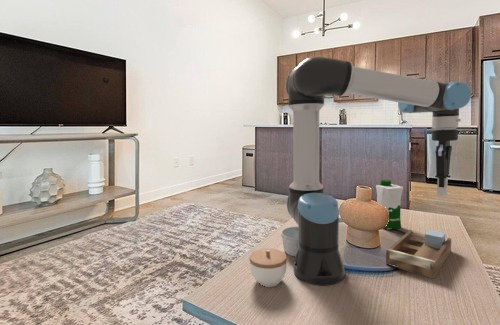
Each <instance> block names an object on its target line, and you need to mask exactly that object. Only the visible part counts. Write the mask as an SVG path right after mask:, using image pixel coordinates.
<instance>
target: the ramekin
mask: <svg viewBox="0 0 500 325" xmlns="http://www.w3.org/2000/svg"><path fill="white" fill-rule="evenodd" d="M280 234H281V235H280V236H281V240H282V248H283V250H284V252H285V254H286V255H287V254H288V255H289V256H292V257H296V254H297V251H298V248H299V226H289V227H286V228H284V229H282V230H281V232H280Z"/></svg>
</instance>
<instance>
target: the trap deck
mask: <svg viewBox="0 0 500 325" xmlns="http://www.w3.org/2000/svg"><path fill="white" fill-rule="evenodd" d="M385 251H386V254H385V255H386V256H385V261H386V262H385V264H386V263H387V264H391V265H395V266H398V268H397V269H399V270H403V271H406V272H409V273H413V274H416V275H419V276H422V277H427V278H430V279H435V277H436V276H437V275H438V273H439V271H440V270H441V268H442V266H443V265H444V263H445V261H446V260H447V259H448V257H449V255H450V253H451V251H452V238H450V237H447V239H445V243H444V244H443V246H442V247H441V248H440V249H439V248H434V247H430V246H426V245H425V237H419V236H414V235H413V230H410V229H409V230H408V231H407V232H405V234H403V235H402V236H401V237H400V238H399V239H398V240H397V241H396V242H395V243H394V244H392V245H391V246H390V247H389V248H386V250H385Z"/></svg>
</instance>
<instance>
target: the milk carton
mask: <svg viewBox="0 0 500 325" xmlns="http://www.w3.org/2000/svg"><path fill="white" fill-rule="evenodd" d="M375 188H376V189H375V190H376V195H377V196H376V201H377V202H378V203H380V204H381V205H383V206H384V207H386V209H387V211H388V213H389V222H388V224H387V226H386V227H385V228H392V229H391V230H398V229H402V223H401V222H402V221H401V210H402V209H401V206H402V205H401V203H402V199H401V198H402V195H403V190H404V186H400V185H398V184H393V183H392V180H390V179H381V180H380V184H376V185H375ZM377 202H376V203H377Z"/></svg>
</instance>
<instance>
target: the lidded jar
mask: <svg viewBox="0 0 500 325" xmlns="http://www.w3.org/2000/svg"><path fill="white" fill-rule="evenodd" d="M287 259H288V256H287V253H286V252H285V251H282V250H280V249H276V248H260V249H257V250H255V251H252V252H251V253H250V254H249V264H250V265H249V266H250V272H251V275H252V277H253V279H254V280H255V281H256V282H257V283H258V284H259V283H260V284H261V285H260V284H259V285H260V286H262V285H263V286H262V287H264V286H265V287H266V288H273V287H276V286H278V284H280V282H281V281H283V279H284V278H285V275H286V272H287V261H288V260H287Z"/></svg>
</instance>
